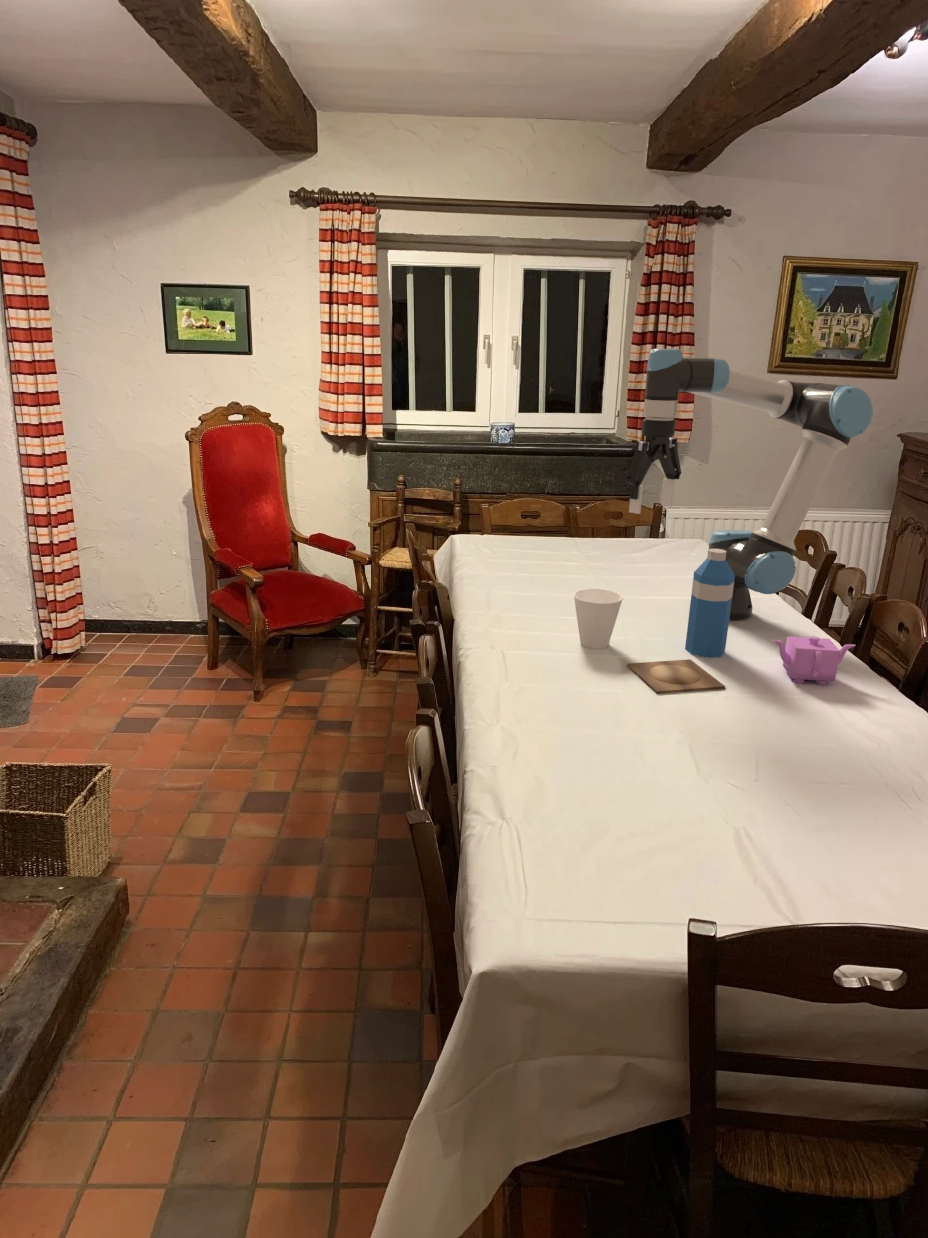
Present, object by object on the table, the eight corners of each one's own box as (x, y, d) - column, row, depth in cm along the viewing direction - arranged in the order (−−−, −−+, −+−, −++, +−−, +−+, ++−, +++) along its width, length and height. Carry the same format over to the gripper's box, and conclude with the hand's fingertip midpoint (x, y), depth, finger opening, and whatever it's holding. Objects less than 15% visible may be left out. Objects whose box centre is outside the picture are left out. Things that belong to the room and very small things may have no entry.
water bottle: (726, 659, 198) (740, 557, 190) (685, 655, 199) (697, 554, 191) (723, 646, 206) (736, 547, 198) (684, 642, 208) (695, 544, 200)
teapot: (839, 668, 194) (846, 629, 191) (857, 691, 182) (865, 649, 178) (759, 663, 196) (765, 624, 193) (772, 685, 183) (778, 644, 180)
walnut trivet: (690, 661, 196) (690, 658, 196) (725, 688, 181) (725, 685, 181) (626, 665, 192) (626, 663, 192) (656, 694, 178) (657, 690, 177)
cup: (628, 644, 206) (632, 596, 202) (600, 656, 198) (604, 606, 194) (588, 632, 214) (591, 585, 210) (560, 643, 205) (563, 595, 201)
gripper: (674, 414, 205) (665, 500, 212) (614, 420, 188) (607, 513, 195) (701, 416, 200) (692, 504, 207) (642, 423, 183) (634, 518, 190)
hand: (650, 509), depth 201 cm, fingers open, 13 cm apart
